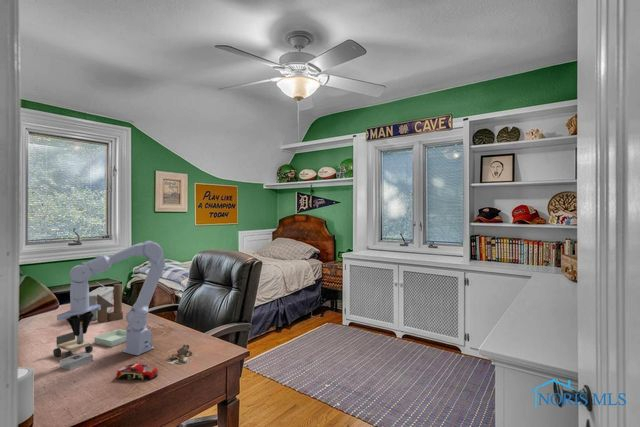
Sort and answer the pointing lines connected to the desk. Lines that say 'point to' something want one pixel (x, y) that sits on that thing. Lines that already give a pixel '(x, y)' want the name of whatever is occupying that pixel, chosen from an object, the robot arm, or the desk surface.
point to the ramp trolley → (70, 345)
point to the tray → (111, 338)
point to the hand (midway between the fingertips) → (80, 334)
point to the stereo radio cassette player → (103, 292)
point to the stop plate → (76, 360)
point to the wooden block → (117, 314)
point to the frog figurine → (181, 355)
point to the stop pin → (80, 334)
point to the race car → (137, 372)
